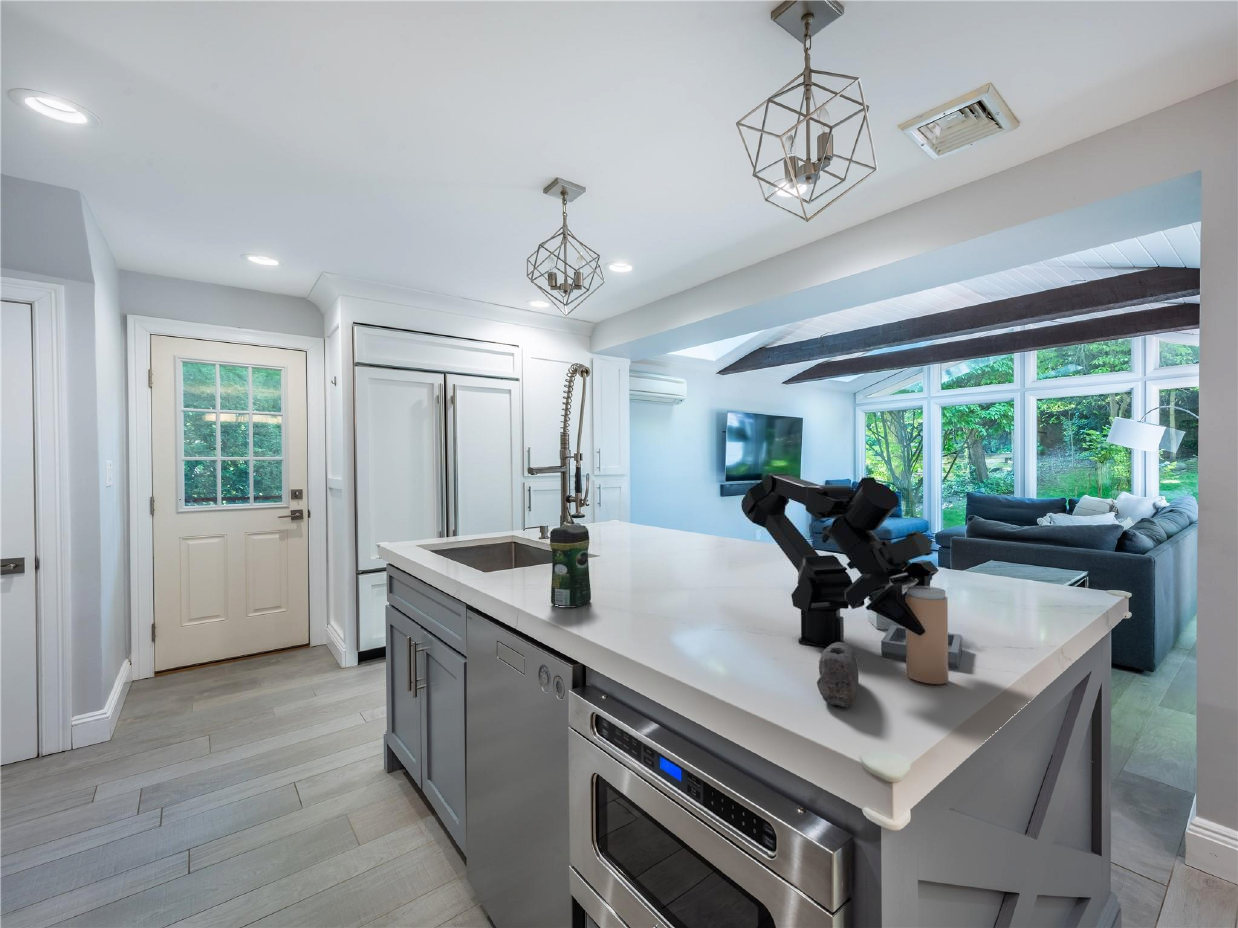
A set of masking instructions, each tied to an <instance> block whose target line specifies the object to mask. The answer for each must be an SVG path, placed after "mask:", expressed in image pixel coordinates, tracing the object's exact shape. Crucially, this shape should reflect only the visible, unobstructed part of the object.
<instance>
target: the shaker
mask: <svg viewBox="0 0 1238 928" xmlns="http://www.w3.org/2000/svg"><path fill="white" fill-rule="evenodd" d="M946 593H947V592H946V590H945V589H943V588H940V587H935V586H930V587H929V586H910V587H908V588H907V593H906V603H907V604H908V606H909V607H910V609H911V610H912V611H913V613H914V614H915V616H916V617H917V619H918V620H919V621H920V623H921V625H922V626H923V628H924V629H925V633H924V634H922V635H920V636H919V635H917V634H915V633H914V632H912V631H910V630H908V629H906V660H905V664H906V665H905V666H906V667H905V669H906V676H907V677H909V678H910V679H912V680H914V681H917V682H922V683H925V684H933V685H934V684H935V685H937V684H939V685H941V684H947V682H949V667H948V633H949V627H948V626H949V623H948V621H949V617H948V615H949V614H948V609H949V608H948V605H949V604H948V602H949V601H948V597H947V596H946Z"/></svg>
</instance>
